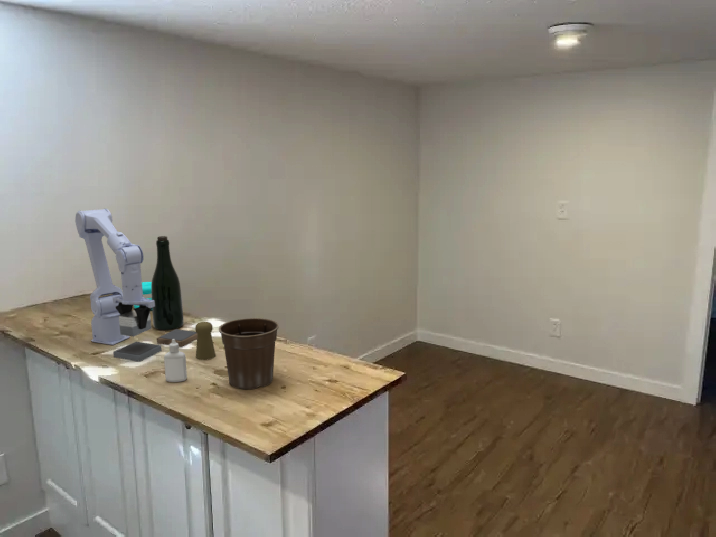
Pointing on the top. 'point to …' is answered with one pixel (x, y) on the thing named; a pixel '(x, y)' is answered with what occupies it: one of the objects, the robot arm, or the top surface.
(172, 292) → the dark green wine bottle
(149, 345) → the stand
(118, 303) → the robot arm
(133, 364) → the top surface
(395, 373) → the top surface
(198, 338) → the cork
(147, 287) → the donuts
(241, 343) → the plant pot
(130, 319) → the block
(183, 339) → the stand
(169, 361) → the eye dropper bottle
